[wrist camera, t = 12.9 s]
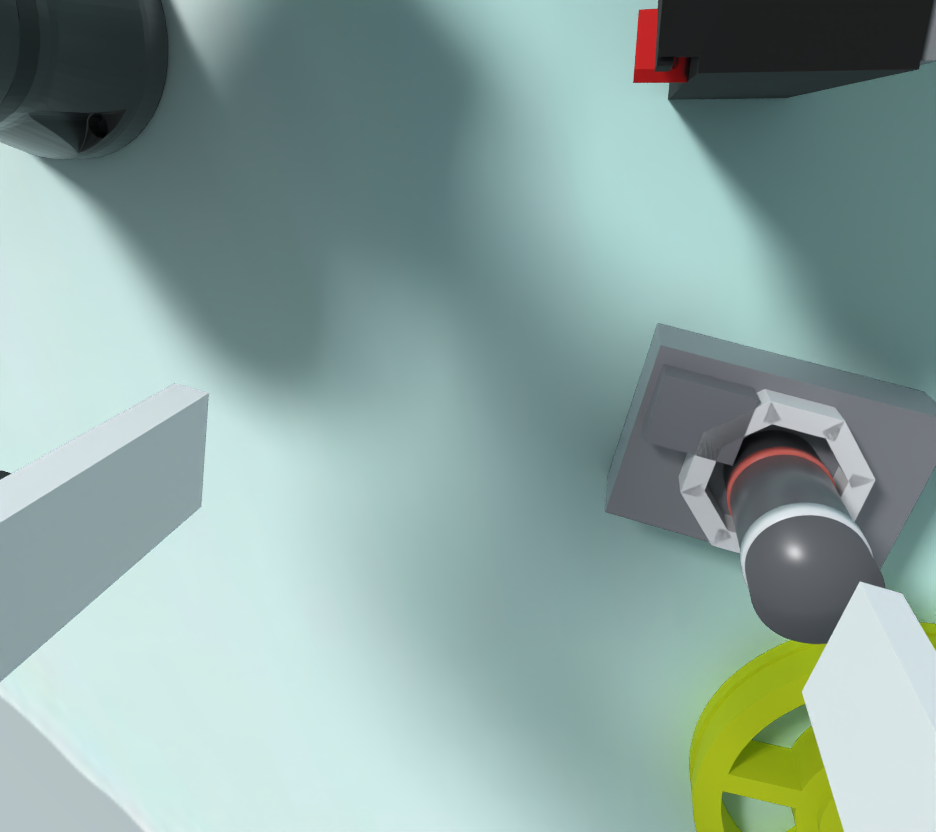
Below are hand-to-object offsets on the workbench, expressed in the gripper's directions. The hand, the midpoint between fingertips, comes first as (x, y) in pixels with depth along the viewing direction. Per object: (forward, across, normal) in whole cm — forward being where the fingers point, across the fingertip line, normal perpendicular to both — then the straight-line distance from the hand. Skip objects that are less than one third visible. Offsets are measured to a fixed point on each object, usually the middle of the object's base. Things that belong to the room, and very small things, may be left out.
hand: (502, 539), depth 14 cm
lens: (+28, +13, -8) cm, 32 cm away
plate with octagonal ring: (+33, +13, -8) cm, 36 cm away
